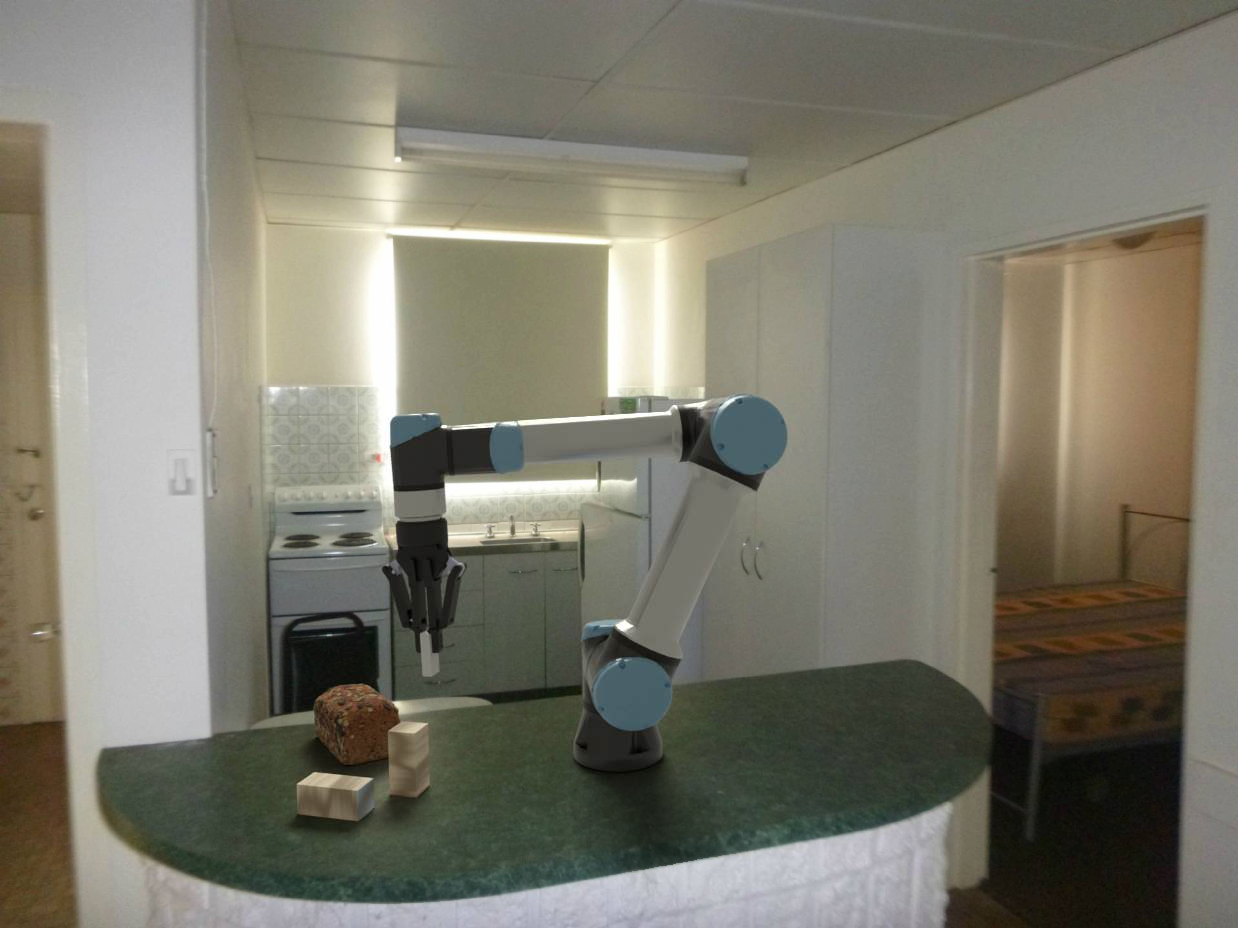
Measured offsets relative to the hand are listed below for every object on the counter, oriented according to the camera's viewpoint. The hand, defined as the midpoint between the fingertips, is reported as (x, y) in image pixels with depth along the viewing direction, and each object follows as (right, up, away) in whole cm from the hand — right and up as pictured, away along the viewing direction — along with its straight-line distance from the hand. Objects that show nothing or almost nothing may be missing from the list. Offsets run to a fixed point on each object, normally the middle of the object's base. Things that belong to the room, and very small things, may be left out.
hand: (431, 673), depth 135 cm
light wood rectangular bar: (-9, -18, -3) cm, 20 cm away
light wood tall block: (-4, -19, +5) cm, 20 cm away
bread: (-18, -19, +24) cm, 36 cm away
